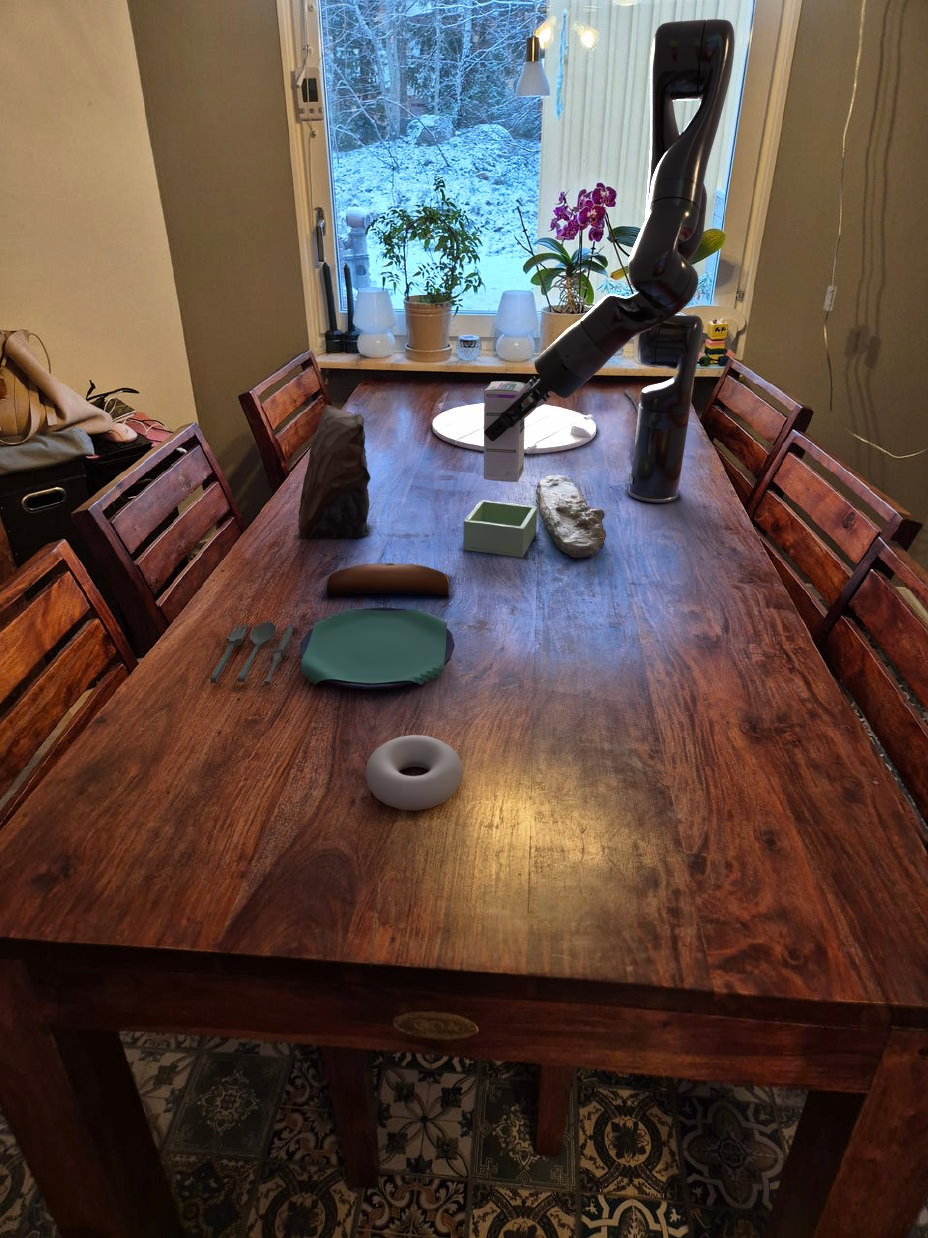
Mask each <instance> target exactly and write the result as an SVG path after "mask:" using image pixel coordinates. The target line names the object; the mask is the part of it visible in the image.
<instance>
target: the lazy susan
mask: <svg viewBox="0 0 928 1238" xmlns="http://www.w3.org/2000/svg"><path fill="white" fill-rule="evenodd" d="M593 419H594V415H592V414H590V413H589V414H587V415H584V414H582V413H580V412H577V411H574V410H571V409H567V408H563V407H560V406H554V405H549V404H543V405H542V406H541V407H537V408H536V409H535V410H534V411H533V412H532V413H531V414H530V415H529V416H528V417H526V418H525V431H524V455H525V454H527V455H534V454H545V453H554V452H555V453H556V452H561V451H566V450H571V449H575V448H578V447H581V446H583V445H585V444H588V443H589V442H590V441H592V440H593V439H594V438H595V436H596V432H597V425H596V423H595V422H594V420H593ZM432 431H433V433H434V435H436V436H437V437H438V438H439V439H441V440H443V441H445V442H447V443H448V444H452V445H455V446H457V447H460V448H465V449H468V450H474V451H479V452H484V402H483V403H474V404H468V405H462V406H458V407H453V408H451V409H448V410H445V411H443V412H441V413H440V414H437V416H435V418H433V420H432Z"/></svg>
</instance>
